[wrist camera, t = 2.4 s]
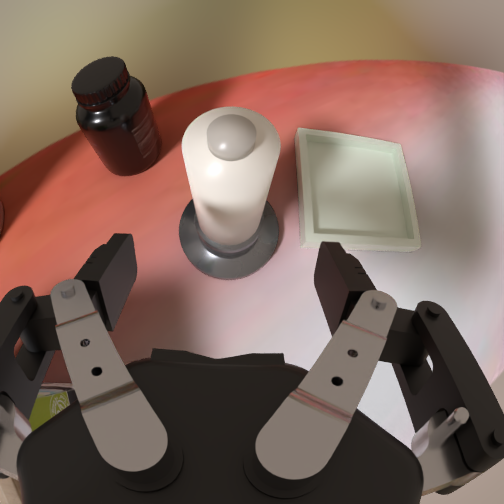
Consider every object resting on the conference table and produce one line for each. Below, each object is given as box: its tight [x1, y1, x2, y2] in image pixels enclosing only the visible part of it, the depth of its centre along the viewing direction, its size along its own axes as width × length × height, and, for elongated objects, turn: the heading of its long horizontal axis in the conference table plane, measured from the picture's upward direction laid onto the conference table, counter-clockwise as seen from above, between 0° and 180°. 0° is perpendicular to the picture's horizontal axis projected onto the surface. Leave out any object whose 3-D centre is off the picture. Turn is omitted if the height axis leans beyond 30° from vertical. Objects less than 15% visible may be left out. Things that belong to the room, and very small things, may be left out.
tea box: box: [0, 383, 78, 504], centre depth 14 cm, size 15×10×15 cm, turn 101°
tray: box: [294, 128, 421, 252], centre depth 29 cm, size 13×13×2 cm
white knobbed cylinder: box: [182, 107, 281, 246], centre depth 19 cm, size 5×5×11 cm
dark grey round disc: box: [179, 199, 279, 280], centre depth 26 cm, size 9×9×4 cm
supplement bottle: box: [71, 56, 161, 176], centre depth 24 cm, size 7×7×12 cm
